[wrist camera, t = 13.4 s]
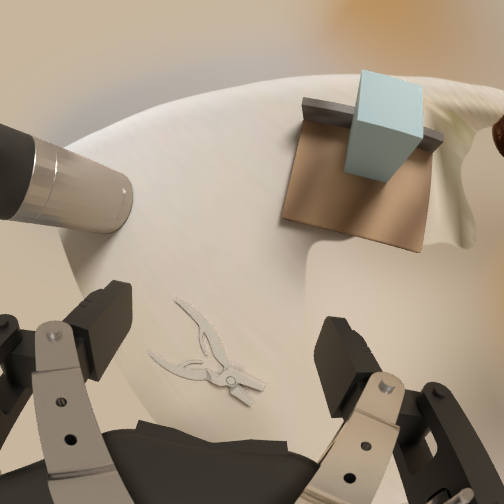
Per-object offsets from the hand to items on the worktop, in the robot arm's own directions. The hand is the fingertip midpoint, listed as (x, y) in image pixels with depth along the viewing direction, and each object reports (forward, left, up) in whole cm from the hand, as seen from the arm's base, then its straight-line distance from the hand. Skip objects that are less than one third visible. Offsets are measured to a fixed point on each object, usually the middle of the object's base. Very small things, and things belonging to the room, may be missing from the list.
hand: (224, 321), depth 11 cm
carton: (+6, +16, -19) cm, 26 cm away
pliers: (-6, -12, -21) cm, 25 cm away
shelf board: (+6, +13, -20) cm, 25 cm away
